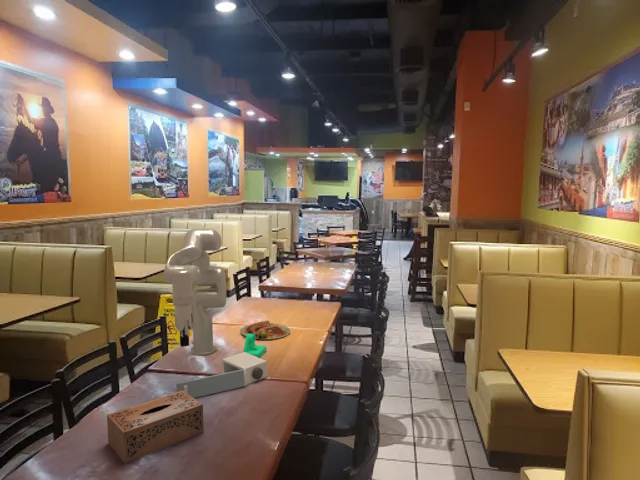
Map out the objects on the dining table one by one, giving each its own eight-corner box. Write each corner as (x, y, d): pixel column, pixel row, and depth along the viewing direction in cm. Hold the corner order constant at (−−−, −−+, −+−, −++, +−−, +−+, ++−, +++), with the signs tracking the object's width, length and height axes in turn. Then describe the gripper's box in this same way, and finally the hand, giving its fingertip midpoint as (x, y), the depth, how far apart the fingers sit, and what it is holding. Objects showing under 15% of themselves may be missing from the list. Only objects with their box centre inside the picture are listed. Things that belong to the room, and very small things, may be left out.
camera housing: (222, 374, 199) (222, 359, 198) (244, 366, 207) (244, 351, 207) (247, 386, 187) (247, 370, 186) (269, 377, 195) (269, 362, 195)
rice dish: (299, 332, 260) (300, 323, 260) (269, 344, 237) (269, 334, 236) (261, 324, 275) (262, 316, 275) (229, 335, 252) (229, 325, 251)
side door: (178, 402, 172) (177, 385, 171) (176, 400, 174) (176, 383, 173) (247, 386, 186) (246, 370, 185) (245, 384, 188) (245, 368, 187)
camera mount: (257, 359, 216) (257, 338, 215) (243, 358, 218) (242, 337, 217) (267, 351, 228) (266, 331, 227) (252, 349, 230) (252, 330, 228)
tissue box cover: (125, 464, 135) (123, 432, 134) (108, 444, 145) (106, 414, 144) (203, 432, 152) (202, 404, 151) (183, 416, 163) (182, 390, 161)
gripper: (169, 297, 182) (171, 341, 185) (176, 306, 169) (178, 353, 172) (188, 295, 186) (190, 338, 188) (197, 303, 173) (198, 350, 175)
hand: (184, 345), depth 180 cm, fingers closed
